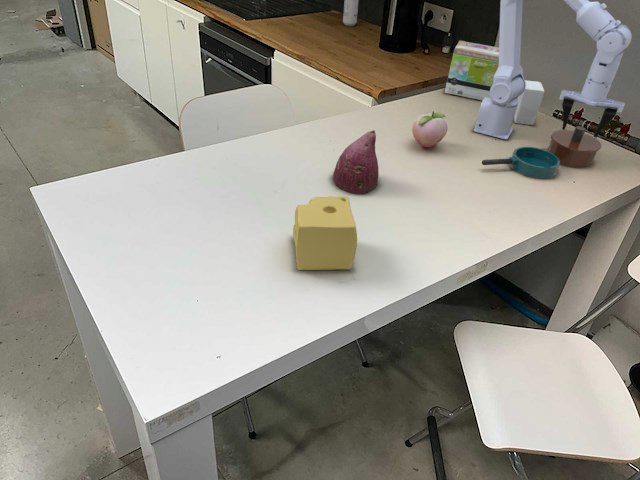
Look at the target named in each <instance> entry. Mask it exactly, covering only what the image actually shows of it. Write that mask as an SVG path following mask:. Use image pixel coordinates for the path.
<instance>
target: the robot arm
mask: <svg viewBox="0 0 640 480" xmlns="http://www.w3.org/2000/svg"><path fill="white" fill-rule="evenodd" d="M563 2H565V4H566V5H567V6H569V8H571V9H572V10H573V11H574V12H575V14H576V19H575V22H576V23H577V24H578V25H579V26H580V28H581V29H582V30H583V31H584V32H586V34H587V35H588V36H589V37H590V38H591V39H592V40H593V41H594V42H595V43H596V50H597V51H596V54H595V57H594V58H593V60H592V62H591V66H590V68H589V71H588V73H587V76H586V79H585V82H584V84H583V87H582V90H581V91H575V90H567V89H562V90H561V92H560V96H559V98H558V100H560V101H562V103H561V105H562V106H561V107H562V114H563V117H562V118H563V121H562V127H561V130H566V129H567V124H568V122H569V117H570V115H571V111H572V110H573V106H574V103H578V104H583V105H586V106H591V107H595V108H600V109H604V110H603V113H602V116H601V119H600V121H599V123H598V125H597V126H596V129H595V131H594V134H593V137H594V138H596V139H598V138H597V137H598V136H599V134H600V133H601V131H602V130H603V129H604V127H606V125H607V124H608V123H610V122H611V121H612V120H613V119H614V118H615V117H616V115H617V113H618V114H622V113H623V110H624V108H625V104H626V103H625V102H623V101H622V102H621V101H619V100H615V99H613V98H608V97H607V96H608V94H609V92H610V90H611V87H612V84H613V82H614V79H615V77H616V74H617V72H618V69H619V67H620V65H621V60H622V58H623V55H624V52H625V51H624V50H625V49H627V47H629V45H630V44H631V42H632V39H633V38H632V37H633V36H632V31H631V30H630V28H629V27H628V26H627V25H625V24H622V22H621V20H620V19H617V20H616V19H615V18H614V17H613V15H612V14H610V12H609V11H608V10H607V8H608V6H607V4H605V2H603V3H600V2H599V1H590V0H563ZM523 3H524V0H500V3H499V4H500V7H499V41H498V42H499V43H498V48H499V67H498V69H497V71H496V73H495V75H494V81H493V85H492V87H491V89H490V97H491V98H487V97H485V98H484V99H483V101H482V100H481V104H480V106H479V110H478V114H477V118H476V121H475V125H474V129H473V132H475V133H478V134H481V135H482V134H483V135H485V136H489V137H494V138H497V139H501V140H506V141H507V140H509V138H510V136H511V134H512V133H513V130H514V128H513V127H512V125H513V122H514V115H515V112H516V109H517V105H518V96H520V95H521V94H522V93H523V92H524V91H525V88H526V82H525V80H526V79H525V77H524V69H523V67H522V66H521V48H522V27H523V26H522V25H523V5H524V4H523Z"/></svg>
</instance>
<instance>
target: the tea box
mask: <svg viewBox="0 0 640 480" xmlns="http://www.w3.org/2000/svg"><path fill="white" fill-rule="evenodd" d="M498 67H499V46H491V45H487V44H482V43H475V42H471V41H470V42H469V41H465V40H458V43H457V44H456V46H455V48H454V49H453V53H452V57H451V62H450V66H449V71H448V75H447V78H446V82H445V83H446V84H445V87H444V88H445V89H444V94H448V95H455V96H460V97H464V98H468V99H472V100H477V101H481V102H482V101H483V99H484V98H485V97H487V98H491V97H490V89H491V87H492V85H493V81H494V75H495V73H496V71H497V69H498Z"/></svg>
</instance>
